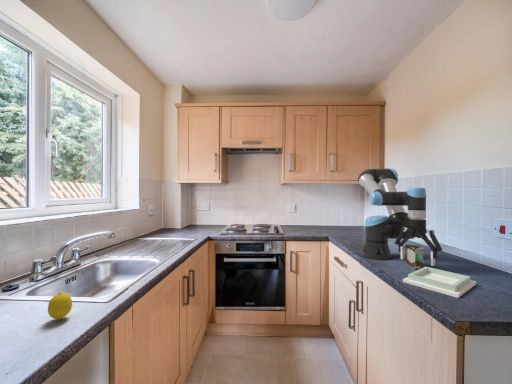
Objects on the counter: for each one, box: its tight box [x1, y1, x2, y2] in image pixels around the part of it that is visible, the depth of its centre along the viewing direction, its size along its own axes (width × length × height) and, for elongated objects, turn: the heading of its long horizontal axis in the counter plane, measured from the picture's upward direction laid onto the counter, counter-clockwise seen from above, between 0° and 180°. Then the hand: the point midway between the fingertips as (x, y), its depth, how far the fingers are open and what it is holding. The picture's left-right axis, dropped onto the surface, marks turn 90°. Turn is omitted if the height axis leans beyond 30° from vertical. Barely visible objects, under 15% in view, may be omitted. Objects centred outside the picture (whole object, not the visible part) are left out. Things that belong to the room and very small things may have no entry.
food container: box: [404, 243, 426, 271], centre depth 116 cm, size 12×6×10 cm, turn 168°
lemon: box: [47, 292, 73, 321], centre depth 69 cm, size 6×6×8 cm
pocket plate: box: [402, 266, 477, 299], centre depth 96 cm, size 18×21×3 cm
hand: (417, 261), depth 116 cm, fingers open, 12 cm apart
